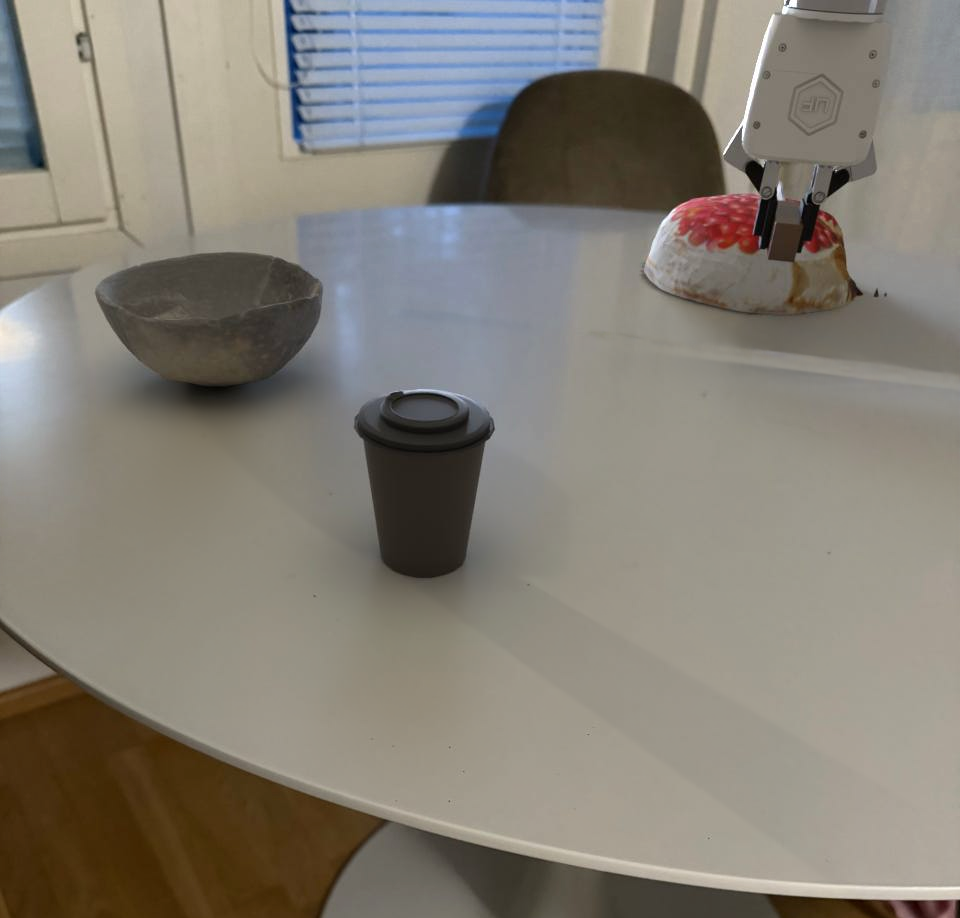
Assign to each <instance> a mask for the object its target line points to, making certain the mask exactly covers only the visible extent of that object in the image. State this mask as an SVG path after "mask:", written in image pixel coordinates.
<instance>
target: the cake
mask: <svg viewBox="0 0 960 918" xmlns="http://www.w3.org/2000/svg"><path fill="white" fill-rule="evenodd" d="M759 201H760V194H759V193H751V192H750V193H749V192H748V193H729V194H722V195H714V196H713V195H712V196H702V197H696V198H691V199H689V200H688V201H685V202H683V203H680V204H679V205H677V206H676V207H674V208H673V209H672V210H671V211H670V212H669V214H668V215H667V216H666V217H665V218H664V219H663V220H662V222H661V223H660V225H659V226H658V229H657V232H656V234H655V236H654V239H653V241H652V243H651V247H650V251H649V253H648V256H647V258H646V261H645V264H644V267H643V273H644V274H645V275H646V276H647V278H648V280H649V281H650V282H651V283H653V285H655V286H656V287H657V288H658V289H660V290H662V291H664V292H666V293H667V294H671V295H673V296H675V297H676V296H677V297H680V298H683V299H686V300H690V301H694V302H696V303H700V304H704V305H709V306H714V307H718V308H722V309H727V310H731V311H736V312H742V313H750V314H761V315H784V316H785V315H800V314H802V315H803V314H810V313H816V312H822V311H829V310H830V311H831V310H833V309H836V308H841V307H844V306H846V305H848V304H849V303H851V302H853V301H855V298H856V297H858V296H863V295H864V293H863V291H862V290H861V289H860V288H859V287H858V286H857V284H856V282H855V281H854V279H853V278H852V277H851V276H850V274H849V271H848V269H847V268H848V267H847V253H846V249H845V241H844V233H843V231H842V228H841V226H840V225H839V222H838V221H837V219H836V218H835V217H834V215H832V214H831V213H829V212H827V211H825V210H822V209H819V212H818V216H817V220H816V224H815V228H814V233H813V237H812V240H811V242H809V241H804V243H803V247H802V251H801V253H796V257H795V261H794V262H785V261H775V260H768V255H767V248H766V249H765V250H763V249H759V237H760V236H753V230H754V224H755V220H756V215H757V210H758V205H759ZM785 201H792V202H798V204H799V207H800V203H801V200H796V199H792V198H788V197H785ZM879 296H880V294H879V289H878V288H876V289H875V291H874V294H873V297H874V298H878V297H879ZM883 296H884V298H886V297H888V293H887V292H885V293H883Z"/></svg>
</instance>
